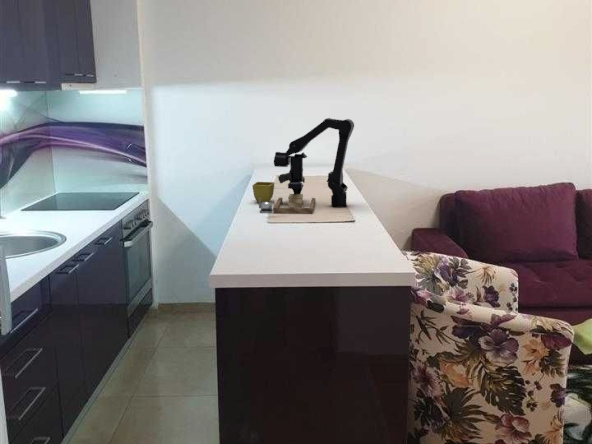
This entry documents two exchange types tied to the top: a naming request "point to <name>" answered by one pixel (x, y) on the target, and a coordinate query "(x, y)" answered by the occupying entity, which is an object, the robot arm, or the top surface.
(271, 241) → the top surface
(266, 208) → the winch drum
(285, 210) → the bay
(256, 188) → the flower pot
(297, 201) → the box
